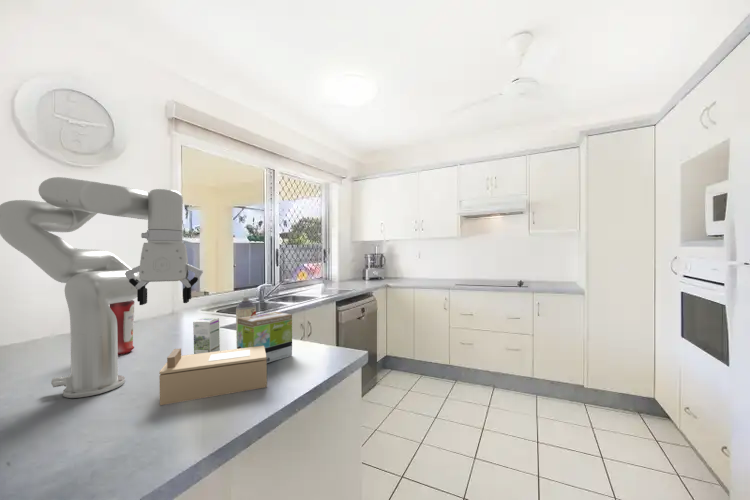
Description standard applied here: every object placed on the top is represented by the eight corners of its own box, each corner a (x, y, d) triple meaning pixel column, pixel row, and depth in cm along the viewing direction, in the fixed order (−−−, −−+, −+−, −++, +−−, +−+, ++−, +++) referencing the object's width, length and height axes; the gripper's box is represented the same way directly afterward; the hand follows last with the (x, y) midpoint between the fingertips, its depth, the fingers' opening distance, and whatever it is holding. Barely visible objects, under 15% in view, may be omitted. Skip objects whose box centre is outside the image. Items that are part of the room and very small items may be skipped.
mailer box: (159, 405, 75) (159, 375, 75) (171, 386, 86) (170, 360, 86) (266, 387, 84) (266, 360, 84) (264, 371, 95) (264, 348, 95)
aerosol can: (255, 353, 113) (254, 297, 113) (234, 355, 111) (233, 298, 112) (258, 348, 120) (257, 295, 120) (238, 349, 118) (237, 296, 118)
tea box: (254, 369, 98) (253, 321, 98) (236, 362, 104) (236, 317, 104) (293, 355, 110) (292, 313, 110) (275, 351, 116) (275, 310, 116)
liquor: (115, 351, 120) (114, 277, 121) (138, 348, 123) (137, 276, 123) (105, 356, 113) (105, 278, 114) (130, 354, 116) (129, 278, 116)
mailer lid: (159, 374, 75) (159, 361, 75) (170, 359, 86) (170, 347, 86) (266, 359, 84) (266, 347, 84) (264, 347, 95) (264, 337, 95)
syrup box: (220, 360, 106) (220, 317, 107) (210, 366, 100) (209, 321, 101) (204, 360, 107) (204, 317, 107) (193, 366, 101) (192, 321, 101)
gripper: (119, 236, 76) (118, 307, 76) (199, 237, 82) (199, 303, 81) (132, 237, 83) (131, 302, 83) (205, 238, 89) (205, 299, 88)
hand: (165, 303), depth 82 cm, fingers open, 9 cm apart
